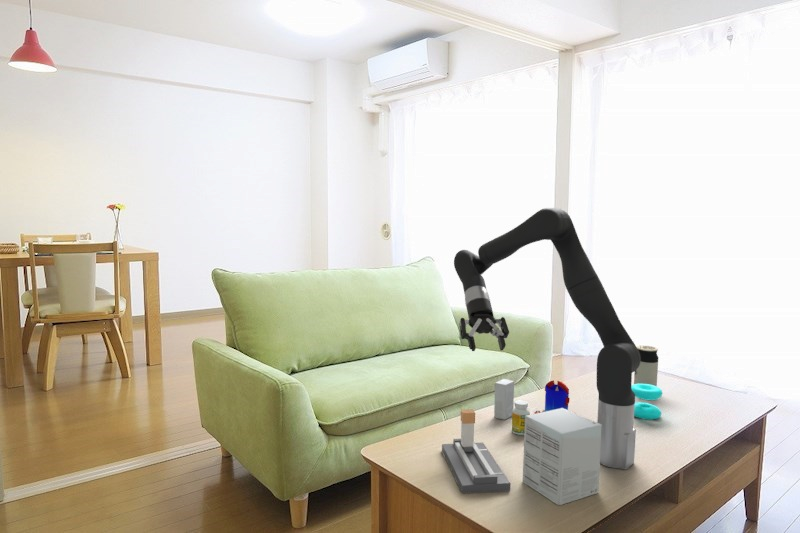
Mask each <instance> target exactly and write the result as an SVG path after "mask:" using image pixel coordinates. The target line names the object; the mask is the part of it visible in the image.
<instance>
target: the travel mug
mask: <svg viewBox="0 0 800 533" xmlns="http://www.w3.org/2000/svg"><path fill="white" fill-rule="evenodd" d="M636 347H637V349H638V351H639V353H640V358H641V361H640V365H639V367H638V368H637V370H635V371H634V372H633V373H634V376H633V385H634V384H650V385H654V386H656V387H658V371H659V370H658V368H659V355H658V351H659V348H658V347H656V346H652V345H637V346H636Z"/></svg>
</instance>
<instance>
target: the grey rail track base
mask: <svg viewBox="0 0 800 533" xmlns="http://www.w3.org/2000/svg"><path fill="white" fill-rule="evenodd" d="M441 451H442V454H443V457H444V458H445V460H446V462H447V464H448V467H449V469H450V471H451V473H452V475H453V477H454V479H455V481H456V483H457V485H458V487H459V490H460V492H461V494H477V493H478V494H479V493H493V492H494V493H496V492H497V493H498V492H510V491H511V481H510V480H509V479H508V477H507V475H506V474H505V473H504V470H502V469H501V467H500V465H499V464H498V463H497V461H496V459H495V458H494V456H493V455H492V454H491V452H490V451H489V449H488V448H487V446H486V445H485V442H482V441H481V442H475V441H474V446H473V452H464V450H463V449H462V444H461V438H453V443H442V444H441Z"/></svg>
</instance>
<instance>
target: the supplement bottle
mask: <svg viewBox="0 0 800 533" xmlns="http://www.w3.org/2000/svg"><path fill="white" fill-rule="evenodd" d="M528 407H529V402H528V401H526V400H519V399H518V400H515V401H514V407H513V410H512V416H511V432H512V433H513V434H515V435H519V436H524V434H525V416H526V415H531V412H530V409H529V408H528Z"/></svg>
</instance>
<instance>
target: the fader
mask: <svg viewBox="0 0 800 533" xmlns="http://www.w3.org/2000/svg"><path fill="white" fill-rule="evenodd" d="M460 421H461V422H460V423H461V426H460V427H461V428H460V439H461V444H462V449H463V450H464V452H473V446H474V442H475V441H474V440H475V424H476V411H475V410H474V409H470V408H469V409H460Z"/></svg>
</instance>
